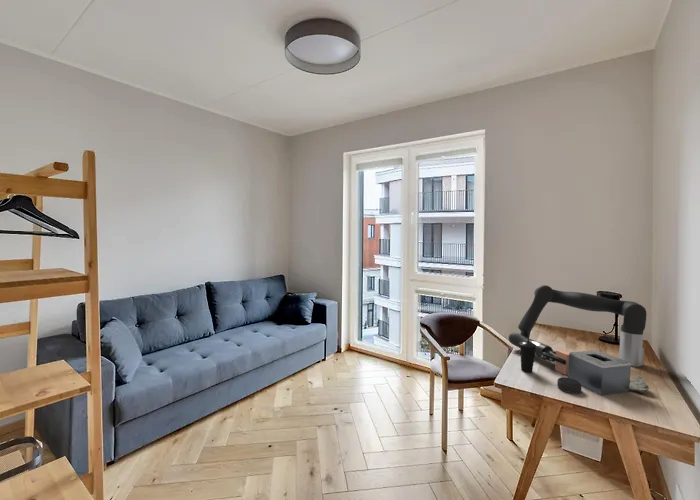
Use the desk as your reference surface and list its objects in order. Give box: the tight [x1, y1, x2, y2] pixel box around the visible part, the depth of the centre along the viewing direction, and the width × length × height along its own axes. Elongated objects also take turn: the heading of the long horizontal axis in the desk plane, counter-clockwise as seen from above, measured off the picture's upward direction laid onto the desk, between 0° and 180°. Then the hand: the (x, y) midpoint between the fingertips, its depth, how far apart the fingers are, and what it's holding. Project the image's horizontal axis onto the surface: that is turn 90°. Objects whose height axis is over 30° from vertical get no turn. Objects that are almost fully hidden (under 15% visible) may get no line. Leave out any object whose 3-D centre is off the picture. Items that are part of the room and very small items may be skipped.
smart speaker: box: [556, 376, 582, 394], centre depth 148 cm, size 9×9×4 cm
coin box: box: [567, 349, 632, 396], centre depth 153 cm, size 16×16×13 cm
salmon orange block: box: [554, 349, 570, 376], centre depth 167 cm, size 6×4×10 cm, turn 15°
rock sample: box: [629, 375, 650, 395], centre depth 149 cm, size 10×8×9 cm
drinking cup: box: [519, 331, 537, 374], centre depth 167 cm, size 8×8×20 cm
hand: (568, 362), depth 164 cm, fingers closed on salmon orange block, 3 cm apart
